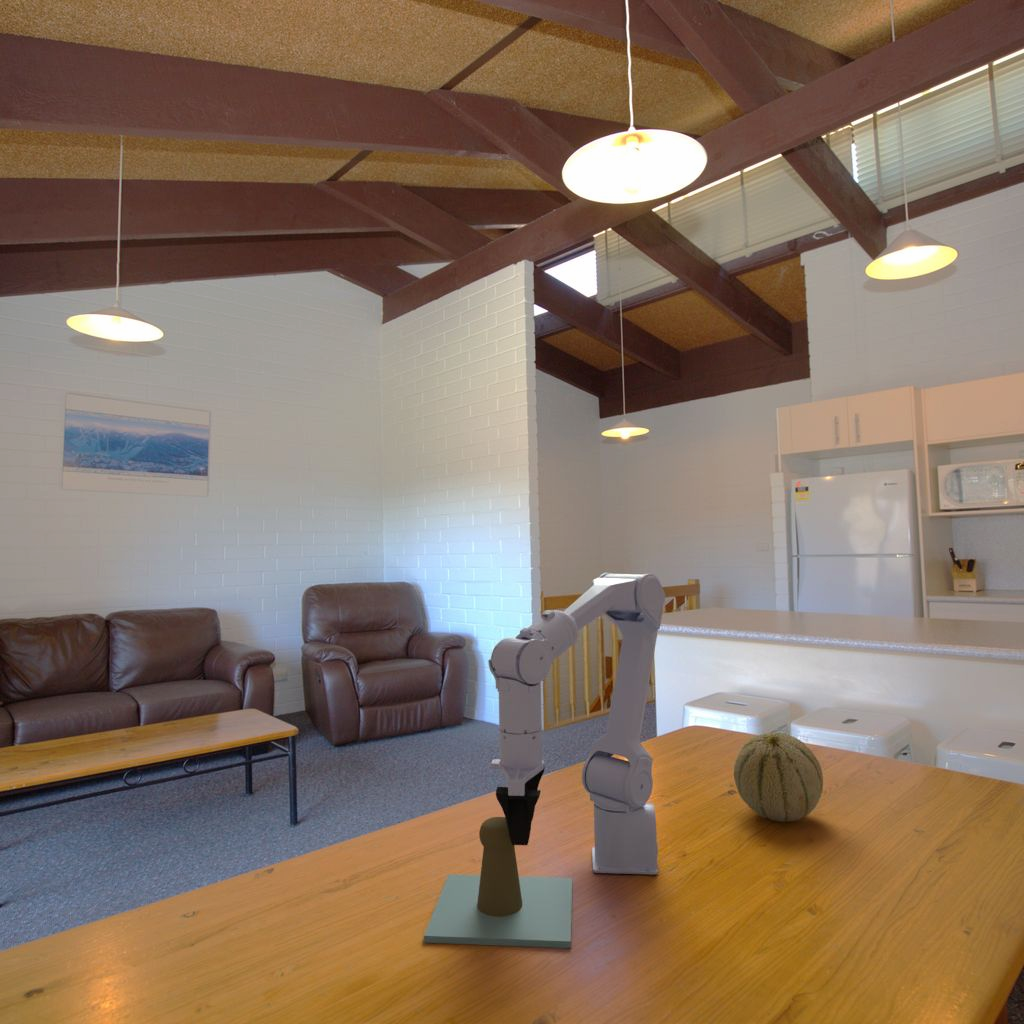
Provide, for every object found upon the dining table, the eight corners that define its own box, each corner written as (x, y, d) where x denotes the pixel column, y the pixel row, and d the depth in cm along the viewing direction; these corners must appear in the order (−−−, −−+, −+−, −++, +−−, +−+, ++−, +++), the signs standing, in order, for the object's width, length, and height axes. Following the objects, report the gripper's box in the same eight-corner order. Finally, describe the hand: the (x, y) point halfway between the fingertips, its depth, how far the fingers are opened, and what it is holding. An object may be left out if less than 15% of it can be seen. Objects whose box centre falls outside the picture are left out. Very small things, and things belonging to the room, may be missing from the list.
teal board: (572, 883, 99) (572, 877, 99) (570, 948, 83) (570, 941, 83) (448, 879, 101) (448, 874, 101) (423, 942, 85) (423, 935, 85)
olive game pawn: (516, 919, 88) (515, 831, 89) (471, 913, 90) (470, 827, 90) (527, 895, 94) (525, 813, 95) (484, 891, 96) (483, 810, 96)
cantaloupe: (808, 803, 128) (805, 721, 129) (838, 836, 113) (834, 743, 114) (727, 802, 129) (724, 720, 130) (745, 834, 115) (742, 742, 115)
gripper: (497, 715, 100) (499, 810, 100) (483, 743, 86) (485, 855, 85) (546, 715, 100) (548, 811, 99) (539, 744, 85) (542, 856, 85)
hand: (522, 831), depth 92 cm, fingers open, 7 cm apart
